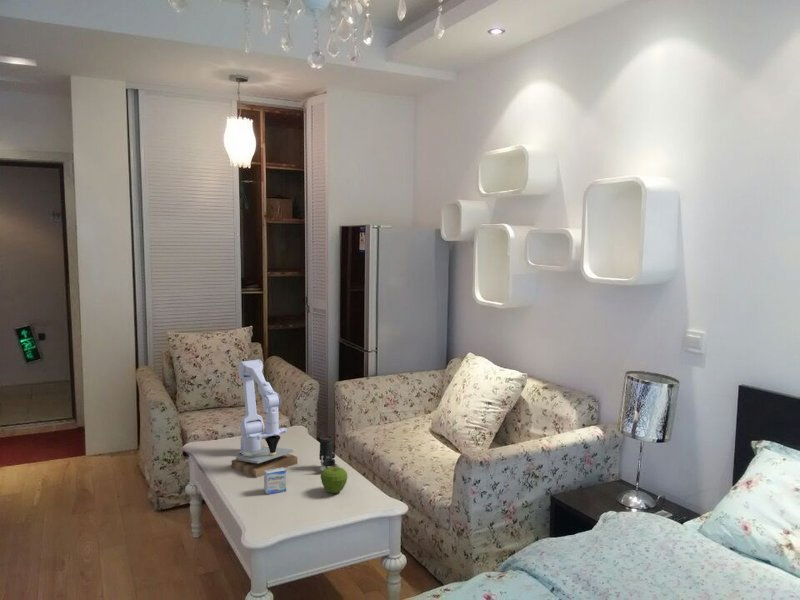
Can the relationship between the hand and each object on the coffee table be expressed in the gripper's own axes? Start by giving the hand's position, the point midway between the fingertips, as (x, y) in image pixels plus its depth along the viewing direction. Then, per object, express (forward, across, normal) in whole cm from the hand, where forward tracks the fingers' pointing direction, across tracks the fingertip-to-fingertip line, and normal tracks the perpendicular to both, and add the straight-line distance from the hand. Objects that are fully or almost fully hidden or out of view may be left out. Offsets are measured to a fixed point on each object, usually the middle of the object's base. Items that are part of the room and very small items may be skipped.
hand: (272, 452), depth 264 cm
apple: (+8, +1, -38) cm, 39 cm away
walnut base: (+7, 0, +6) cm, 9 cm away
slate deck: (+3, 0, +6) cm, 7 cm away
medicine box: (+8, -14, -20) cm, 26 cm away
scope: (+8, +15, -18) cm, 25 cm away
